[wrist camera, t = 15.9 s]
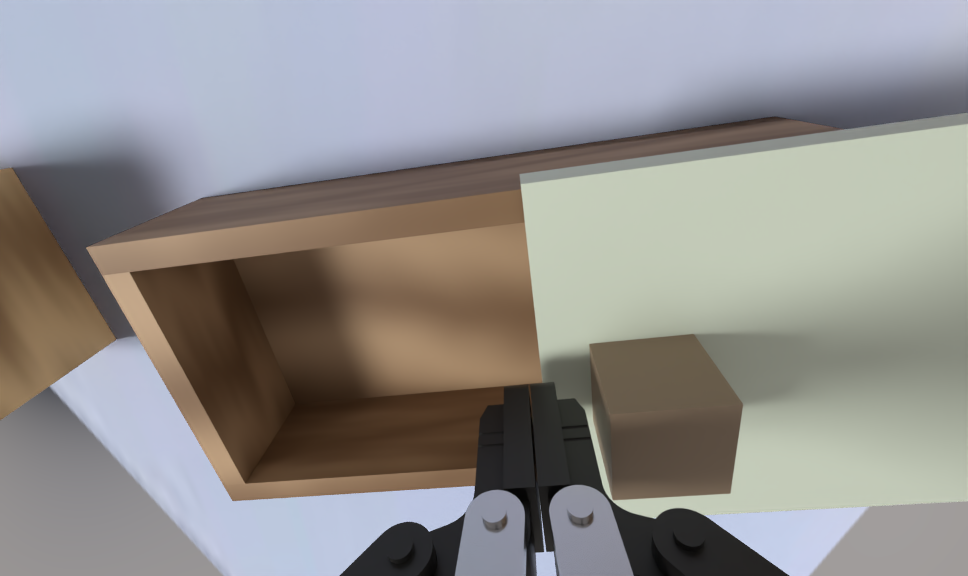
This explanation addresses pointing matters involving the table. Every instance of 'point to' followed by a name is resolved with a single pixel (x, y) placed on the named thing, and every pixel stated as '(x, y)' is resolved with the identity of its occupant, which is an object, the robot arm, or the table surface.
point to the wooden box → (355, 314)
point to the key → (39, 303)
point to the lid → (764, 318)
